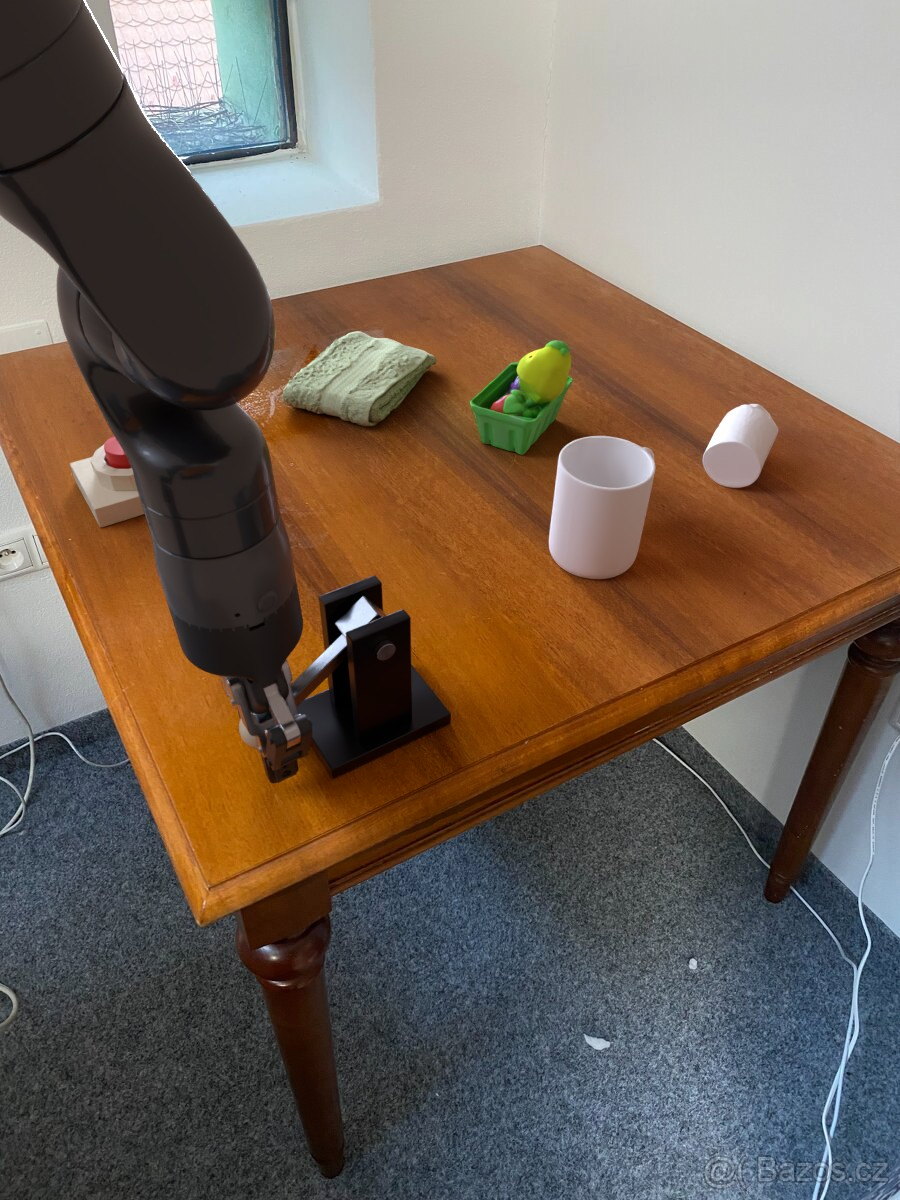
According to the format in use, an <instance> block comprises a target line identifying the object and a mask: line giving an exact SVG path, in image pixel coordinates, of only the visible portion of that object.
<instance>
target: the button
mask: <svg viewBox="0 0 900 1200" xmlns="http://www.w3.org/2000/svg"><path fill="white" fill-rule="evenodd" d="M103 445H104V450H105V453H106V457H107V460H108V463H109V465H110V466H111V467H113V468H116V469H130V468H131V465H130V463H129V461H128V459H127V457H126V455H125V453H124V451H123V449H122V448H121V446H120V444H119V443H118V441H117V439H116V437H115V436H114V435H113V436H112V437H109V438H108V439H107V440H106V441H105V442H104V444H103Z"/></svg>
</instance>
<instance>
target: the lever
mask: <svg viewBox="0 0 900 1200" xmlns="http://www.w3.org/2000/svg"><path fill="white" fill-rule="evenodd" d="M384 616H387V615H386V614H385V612H384V610H383V611H382V610H381V609H380V608H379V607H378V606H376V605H375V604H374V603H372V602H371V601H370V600H369V599H367V598H366V597H365V596H362V597H361V598H360V599H359V600H358V601H357V602H356V603H355V604H354V605H353V606H352V607H351V608H350V609H349V610H348V611H347V612H346V613H345V614H344V615H343V616H342V617H341V618H340V619H339V620H338V621H337V622H336V623H335V625H336V626H337V628H338V629H339V630H340V632H341V633H342V635H341V636H339V637H338V638H337V639H336V640H335V641H334V642H333V643H332V644H331V645H330V646H329V647H328V648H327V649H326V650H324V651H323V652H322V653H321V654H320V655H319V656H318V657H317V658H316V659H315V660H314V661H312V663H310V664H309V666H308V667H306V669H305V670H304V671H302V673H300V674H299V675H298V677H297V678H295V680H293V681H292V682H291V684H290V685H291V689H292V693H293V696H294V700H295V704H296V707H298V706H299V705H300V704H301V703H302V702H303V701H304V700H305V699H307V698H309V697H310V695H311V694H312V693H313V692H314V691H315V690H317V688H318V687H319V686H321V684H322V683H323V682H324V681H325V680H326V679H328V676H329V675H330V674H331V673H332V672H333V671H334V670H335V669H336V668H337V667H338V666H339V665H340V664H341V663H342V662H344V661H345V660H346V659H347V658H348V654H347V642H346V632H347V631H350V630H352V629H355V628H357V627H360V626H362V625H365V624H367V623H370V622H372V621H375V620H377V619H380V618H382V617H384ZM251 714H255V713H251ZM238 733H239V736H240V738H241V740H242V741H243V743H244V744H245V745H247V746H248V747H250V748H252V749H254V750H258V749H257V747H258V744H257V741H256V738H255V736H251V735H250V734H249V732H248V731H247V729H246V728H245V726H244V725H243V723H242V719H241V718H239V722H238ZM265 736H266V734H265Z"/></svg>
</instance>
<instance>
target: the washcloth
mask: <svg viewBox="0 0 900 1200" xmlns="http://www.w3.org/2000/svg"><path fill="white" fill-rule="evenodd" d="M436 364H437V358H436V356H435V355H433V354H431V353H428V352H427V351H425V350H424V349H421V348H416V347H413V346H409V345H405V344H402V343H401V342H399V341H396V340H394V339H391V338H388V337H380V338H379V337H373V336H370V335H368V334H366V333H364V332H363V331H359V330H357V331H352V332H348V333H347V334H346V335H342V336H341V337H339V338H336V339H335V340H333V342H332V343H331V344H330V345H329V346H327V347H326V349H324V350H323V351H321V352H320V354H318V355H317V356H316V357H315V359H313V360H311V362H309V364H306V366H305V367H302V368H301V369H300V370H299V372H296V374H295V375H294V376H293V377H292V378H290V379H289V380H288V383H286V385H285V386H284V388H283V389H282V394H281V396H280V398H282V399H281V401H282V402H284V405H286V406H289V407H294V408H296V409H303V410H307V412H308V411H309V412H312V413H315V414H317V415H319V414H320V415H323V414H325V415H327V416H331V417H337V418H340V419H341V421H344V422H345V421H346V422H351V423H352V424H356V425H358V426H361V427H374V426H376V425H377V424H379V423H380V422H381V421H383V420H385V419H386V417H387V416H389V415H390V414H391V412H392V411H393V410H396V409H397V408H398V407H399V406H400V405H401V404H402V402H403V401H404V400H405V398H406V397H407V395H408V394H409V393H410V392H411V390H412V389H413V388H414V387H415V386H416V384H417V383H418V382H419V380H420V379H421V378H422V377H423V375H425V373H427V372H428V370H429V369H430V368H431V367H432V366H434V365H436Z"/></svg>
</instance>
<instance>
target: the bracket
mask: <svg viewBox="0 0 900 1200" xmlns="http://www.w3.org/2000/svg"><path fill="white" fill-rule="evenodd" d="M362 596H365V597H366V598H367V599H369V600H370V601H371V602H372V603H374V604H375V605H376V606H378V607H379V608H380V609H381V610H382V611H383V612H384V603H383V583H382V582H381V580H380V579H379V578H378V576H377V575H376V574H375V575H374V574H373V575H372V576H369V577H366V578H364V579H361V580H359V581H355V582H353V583H350V584H348V585H345V586H343V587H340V588H337V589H334V590H332V591H329V592H327V593H324V594H321V595H319V596H318V603H319V614H320V623H321V630H322V631H321V632H322V639H323V648H324V649H323V650H324V651H325V650H326V649H327V648H328V647H329V646H330V645H331V644H332V643H333V642H334V641H335V640H336V639H337V638H338V637H339V636H341V635H342V633H341V632H340V630H339V629H338V628H337V626H336V625H335V623H336V622H337V621H338V620H339V619H340V618H341V617H342V616H343V615H344V614H345V613H346V612H347V611H348V610H349V609H350V608H351V607H352V606H353V605H354V604H355V603H356V602H357V601H358V600H359V599H360V598H361V597H362ZM411 619H412V617H411V616H410V614H408V612H407V611H406V610H405V609H404V608H402V609H400V610H397V611H394V612H391V613H390V614H387V615H386V616H384V617H382V618H380V619H377V620H375V621H372V622H370V623H367V624H365V625H362V626H360V627H357V628H355V629H352V630H350V631H347V632H346V642H347V654H348V658H347V659H346V660H345V661H344V662H342V663H341V664H340V665H339V666H338V667H337V668H336V669H335V670H334V671H333V672H332V673H331V674H330V675H329V676H328V677H327V683H328V684H327V685H328V688H327V689H325V690H323V691H320V692H318V693H316V694H314V695H311V696H308V697H307V698H306V699H305V700H304V701H303V702H302V703H301V704H300V705H299V706H298V707H297V711H298V713H297V715H298V714H301V716H302V715H304V714H305V715H306V716H307V718H308V719H310V721H311V723H312V726H311V727H312V730H313V732H312V737H311V742H310V746H311V747H312V749H313V750H314V751H315V753H316V755H317V756H318V758H319V760H320V761H321V763H322V764H323V766H324V768H325V769H326V770H327V772H328V774H329V776H330V777H331V778H332V779H333V780H334V779H337V778H339V777H341V776H343V775H345V774H347V773H349V772H352V771H353V770H356V769H358V768H360V767H362V766H364V765H366V764H368V763H370V762H372V761H374V760H376V759H379V758H381V757H383V756H385V755H387V754H390V753H391V752H393V751H396V750H398V749H400V748H402V747H404V746H406V745H408V744H410V743H412V742H414V741H416V740H419V739H421V738H423V737H425V736H427V735H429V734H431V733H433V732H436V731H437V730H440V729H441V728H443V727H447V726H448V725H451V723H452V713H451V711H450V710H449V709H448V708H447V707H446V705H445V704H444V703H443V702H442V700H441V699H440V698H439V697H438V696H437V694H436V693H435V692H434V690H433V689H432V688H431V687H430V685H429V684H428V683H427V682H426V680H425V679H424V678H423V677H422V676H421V674H420V673H419V671H418V670H417V668H415V666H414V665H413V664H412V625H411V624H412V623H411Z"/></svg>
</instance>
